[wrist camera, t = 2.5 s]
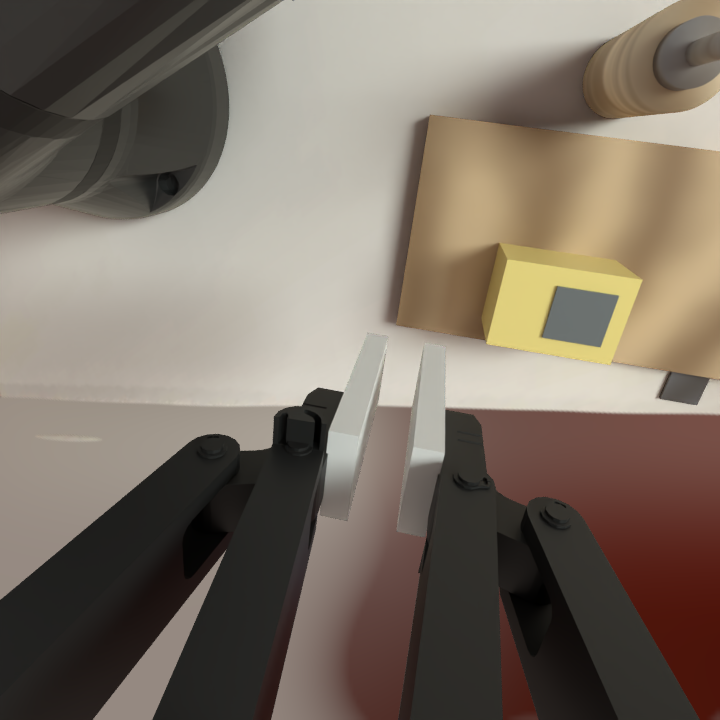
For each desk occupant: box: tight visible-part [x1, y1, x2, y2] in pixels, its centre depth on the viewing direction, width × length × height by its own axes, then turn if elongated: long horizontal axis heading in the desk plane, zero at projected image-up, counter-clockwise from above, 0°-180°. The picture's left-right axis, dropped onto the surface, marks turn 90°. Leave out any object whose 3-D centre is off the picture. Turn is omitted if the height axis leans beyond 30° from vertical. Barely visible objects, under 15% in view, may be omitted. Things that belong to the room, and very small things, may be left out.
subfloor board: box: [396, 115, 720, 405], centre depth 30 cm, size 26×18×1 cm
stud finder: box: [481, 243, 643, 365], centre depth 29 cm, size 7×5×5 cm
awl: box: [583, 0, 720, 118], centre depth 21 cm, size 4×4×13 cm
